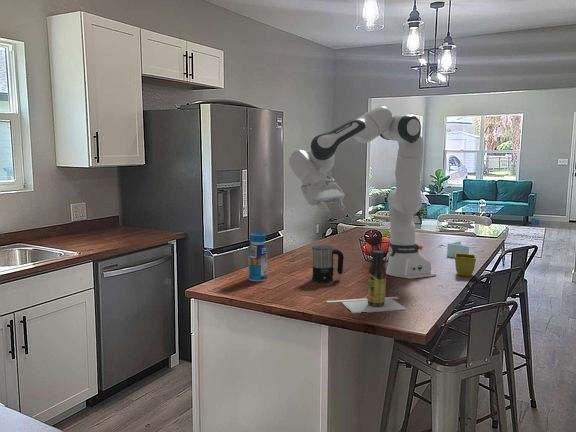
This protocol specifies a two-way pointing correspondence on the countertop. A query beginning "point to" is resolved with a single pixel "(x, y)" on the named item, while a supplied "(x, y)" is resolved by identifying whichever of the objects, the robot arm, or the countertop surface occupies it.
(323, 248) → the milk frother
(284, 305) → the countertop surface
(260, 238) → the beverage bottle
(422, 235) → the countertop surface
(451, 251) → the right angle wall
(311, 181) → the robot arm
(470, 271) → the flower pot
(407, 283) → the countertop surface
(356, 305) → the mat
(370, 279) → the sauce bottle
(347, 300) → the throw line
